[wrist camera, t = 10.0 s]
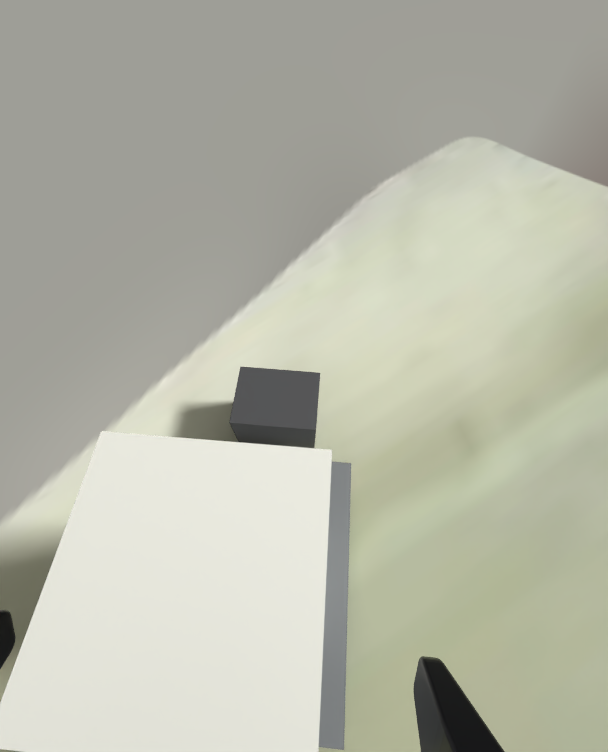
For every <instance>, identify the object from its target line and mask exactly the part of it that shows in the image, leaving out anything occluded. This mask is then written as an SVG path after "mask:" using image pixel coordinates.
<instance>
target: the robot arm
mask: <svg viewBox="0 0 608 752" xmlns="http://www.w3.org/2000/svg"><path fill="white" fill-rule="evenodd" d="M14 643H15V633H14V628H13V623H12V618H11V614H10V612H9V611H7V610H0V669H1V667H2V665H3V664H4V662H5V661H6V659H7V657H8V656H9V654H10V652H11V651H12V648H13V646H14ZM414 700H415V708H416V715H417V723H418V731H419V738H420V746H421V752H504V750H503V749H502V747H501V746H500V745H499V743H498V742H497V740H496V739H495V737H494V736H493V734H492V733H491V731H490V730H489V729H488V727H487V726H486V724H485V723H484V721H483V720H482V718H481V717H480V716H479V714H478V713H477V711H476V710H475V708H474V707H473V705H472V704H471V702H470V701H469V700H468V698H467V697H466V695H465V694H464V692H463V691H462V689H461V688H460V686H459V685H458V684H457V682H456V681H455V679H454V678H453V676H452V675H451V673H450V672H449V671H448V669H447V668H446V666H445V665H444V663H443V662H442V661H441V660H440V659H438V658H433V657H424V656H423V657H421V658H420V659H419V662H418V667H417V672H416V677H415V682H414Z"/></svg>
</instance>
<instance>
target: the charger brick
mask: <svg viewBox="0 0 608 752" xmlns="http://www.w3.org/2000/svg"><path fill="white" fill-rule="evenodd" d="M331 464H332V450H328V449H315V448H303V447H290V446H278V445H266V444H253V443H241V442H229V441H216V440H204V439H191V438H179V437H167V436H154V435H142V434H130V433H117V432H105V431H101V433H100V436H99V438H98V441H97V444H96V447H95V449H94V452H93V455H92V457H91V460H90V463H89V465H88V468H87V471H86V473H85V476H84V479H83V482H82V484H81V487H80V490H79V492H78V495H77V498H76V500H75V503H74V506H73V508H72V511H71V514H70V517H69V519H68V522H67V525H66V527H65V530H64V533H63V535H62V538H61V541H60V543H59V546H58V549H57V552H56V554H55V557H54V560H53V562H52V565H51V568H50V570H49V573H48V576H47V578H46V581H45V584H44V587H43V589H42V592H41V595H40V597H39V600H38V603H37V605H36V608H35V611H34V613H33V616H32V619H31V622H30V624H29V627H28V630H27V632H26V635H25V638H24V640H23V643H22V646H21V648H20V651H19V654H18V657H17V659H16V662H15V665H14V667H13V670H12V673H11V675H10V678H9V681H8V683H7V686H6V689H5V692H4V694H3V697H2V700H1V702H0V749H4V750H12V751H21V752H318V748H319V726H320V704H321V683H322V661H323V639H324V617H325V595H326V573H327V551H328V529H329V508H330V486H331Z"/></svg>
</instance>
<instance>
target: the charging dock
mask: <svg viewBox="0 0 608 752" xmlns="http://www.w3.org/2000/svg"><path fill="white" fill-rule="evenodd" d="M319 381H320V373H315V372H302V371H290V370H277V369H264V368H251V367H240V372H239V377H238V382H237V387H236V392H235V397H234V402H233V407H232V412H231V417H230V422H229V423H230V425H231V427H232V429H233V431H234V433H235V435H236V437H237V439H238V441H239V442H241V443H253V444H266V445H278V446H290V447H303V448H314V444H315V433H316V421H317V408H318V395H319ZM350 488H351V463H341V462H332V464H331V486H330V508H329V529H328V551H327V573H326V595H325V617H324V639H323V661H322V683H321V704H320V726H319V747H324V748H332V749H341V750H344V727H345V687H346V647H347V607H348V567H349V528H350Z"/></svg>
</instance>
